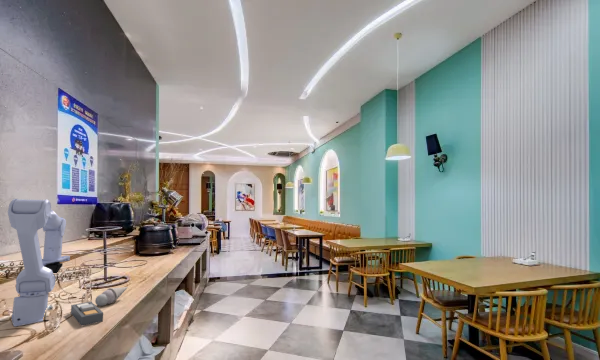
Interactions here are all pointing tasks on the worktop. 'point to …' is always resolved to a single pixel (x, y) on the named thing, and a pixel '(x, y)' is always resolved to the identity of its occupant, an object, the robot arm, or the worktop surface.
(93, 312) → the amber key
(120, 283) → the worktop surface
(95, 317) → the grey compartment tray
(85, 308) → the grey key
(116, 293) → the ice cream cone
